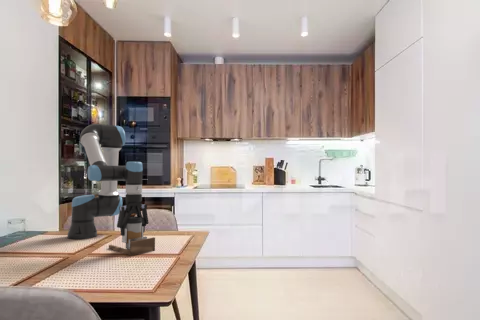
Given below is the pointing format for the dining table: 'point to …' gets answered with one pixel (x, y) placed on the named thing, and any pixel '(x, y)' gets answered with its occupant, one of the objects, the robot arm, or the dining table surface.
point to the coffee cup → (133, 229)
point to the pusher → (136, 240)
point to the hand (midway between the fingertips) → (132, 240)
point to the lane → (137, 247)
